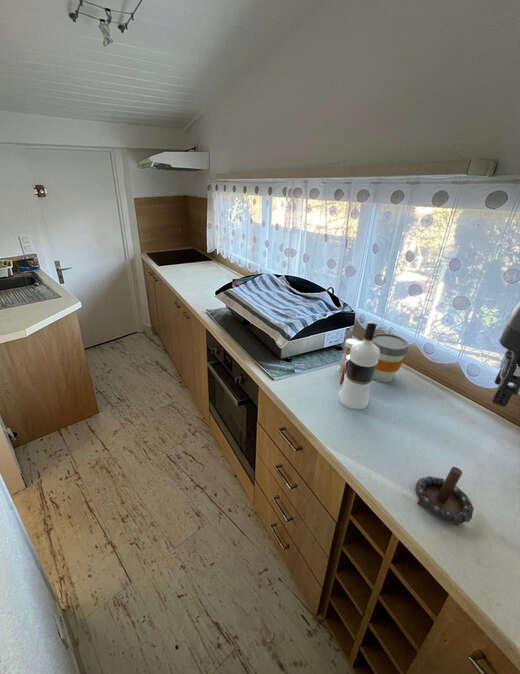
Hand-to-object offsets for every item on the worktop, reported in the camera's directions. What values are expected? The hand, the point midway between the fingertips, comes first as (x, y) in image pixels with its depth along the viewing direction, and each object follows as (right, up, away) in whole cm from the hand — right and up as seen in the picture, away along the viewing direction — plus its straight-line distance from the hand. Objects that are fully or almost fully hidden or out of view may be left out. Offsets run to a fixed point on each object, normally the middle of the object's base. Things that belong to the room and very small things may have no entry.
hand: (499, 393), depth 66 cm
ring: (-9, -25, +5) cm, 27 cm away
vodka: (-15, -10, +38) cm, 42 cm away
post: (-8, -27, +6) cm, 29 cm away
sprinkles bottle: (-11, -1, +54) cm, 55 cm away
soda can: (-14, -6, +46) cm, 49 cm away
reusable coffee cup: (+1, -3, +52) cm, 52 cm away
